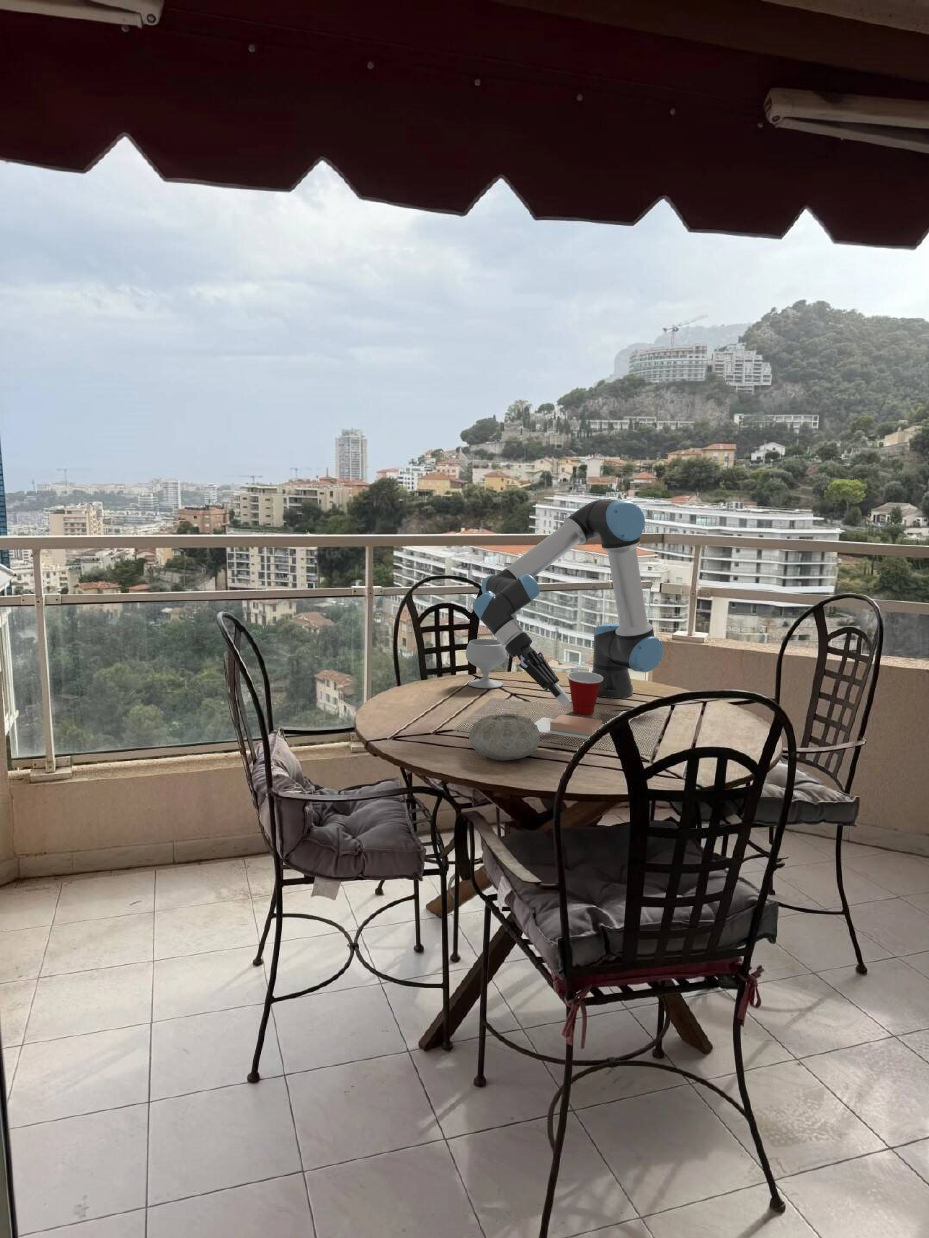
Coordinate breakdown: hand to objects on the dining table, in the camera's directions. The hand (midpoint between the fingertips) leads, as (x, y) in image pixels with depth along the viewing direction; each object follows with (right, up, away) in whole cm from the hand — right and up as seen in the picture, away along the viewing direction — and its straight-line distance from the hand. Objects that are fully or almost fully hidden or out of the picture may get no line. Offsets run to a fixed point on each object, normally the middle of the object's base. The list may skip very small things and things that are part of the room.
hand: (567, 704), depth 226 cm
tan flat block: (-3, -5, +2) cm, 7 cm away
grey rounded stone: (-19, -11, -21) cm, 30 cm away
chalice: (-21, +1, +52) cm, 57 cm away
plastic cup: (+7, -5, +18) cm, 20 cm away
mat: (0, -7, +1) cm, 8 cm away
